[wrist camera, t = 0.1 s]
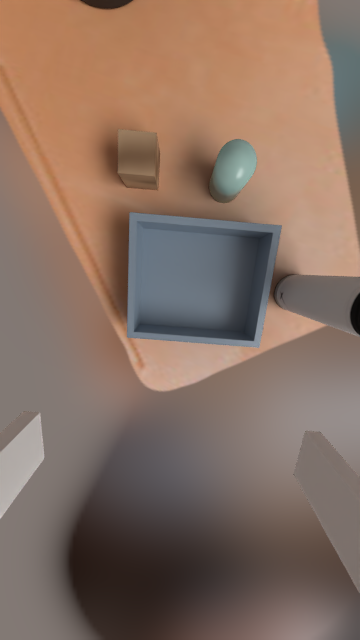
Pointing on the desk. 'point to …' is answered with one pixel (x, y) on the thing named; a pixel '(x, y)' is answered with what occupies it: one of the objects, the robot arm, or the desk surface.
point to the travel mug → (322, 299)
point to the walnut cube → (138, 159)
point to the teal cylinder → (232, 170)
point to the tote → (199, 279)
